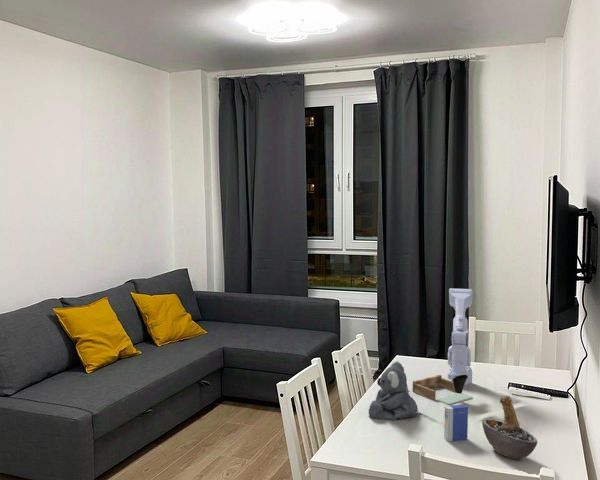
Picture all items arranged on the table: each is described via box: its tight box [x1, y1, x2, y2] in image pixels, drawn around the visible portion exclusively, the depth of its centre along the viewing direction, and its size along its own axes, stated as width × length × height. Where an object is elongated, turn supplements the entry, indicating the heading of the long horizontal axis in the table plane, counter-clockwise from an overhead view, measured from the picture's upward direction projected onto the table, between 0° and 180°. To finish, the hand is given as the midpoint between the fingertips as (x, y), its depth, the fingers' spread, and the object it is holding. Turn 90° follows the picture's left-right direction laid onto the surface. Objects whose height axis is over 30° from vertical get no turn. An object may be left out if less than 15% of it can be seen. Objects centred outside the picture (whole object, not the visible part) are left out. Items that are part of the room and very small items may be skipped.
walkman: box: [443, 403, 469, 442], centre depth 208 cm, size 8×3×12 cm, turn 105°
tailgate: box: [436, 392, 473, 406], centre depth 244 cm, size 14×1×7 cm
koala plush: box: [368, 360, 419, 421], centre depth 231 cm, size 17×18×20 cm
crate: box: [412, 374, 456, 401], centre depth 252 cm, size 16×12×6 cm
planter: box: [481, 394, 539, 461], centre depth 195 cm, size 15×17×20 cm
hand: (458, 392), depth 242 cm, fingers closed
